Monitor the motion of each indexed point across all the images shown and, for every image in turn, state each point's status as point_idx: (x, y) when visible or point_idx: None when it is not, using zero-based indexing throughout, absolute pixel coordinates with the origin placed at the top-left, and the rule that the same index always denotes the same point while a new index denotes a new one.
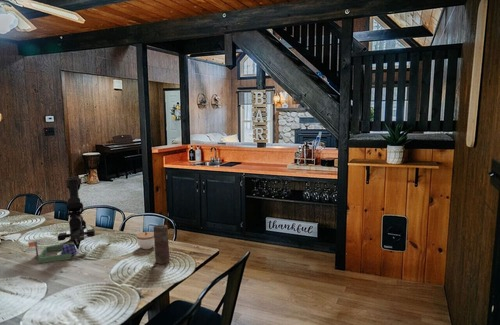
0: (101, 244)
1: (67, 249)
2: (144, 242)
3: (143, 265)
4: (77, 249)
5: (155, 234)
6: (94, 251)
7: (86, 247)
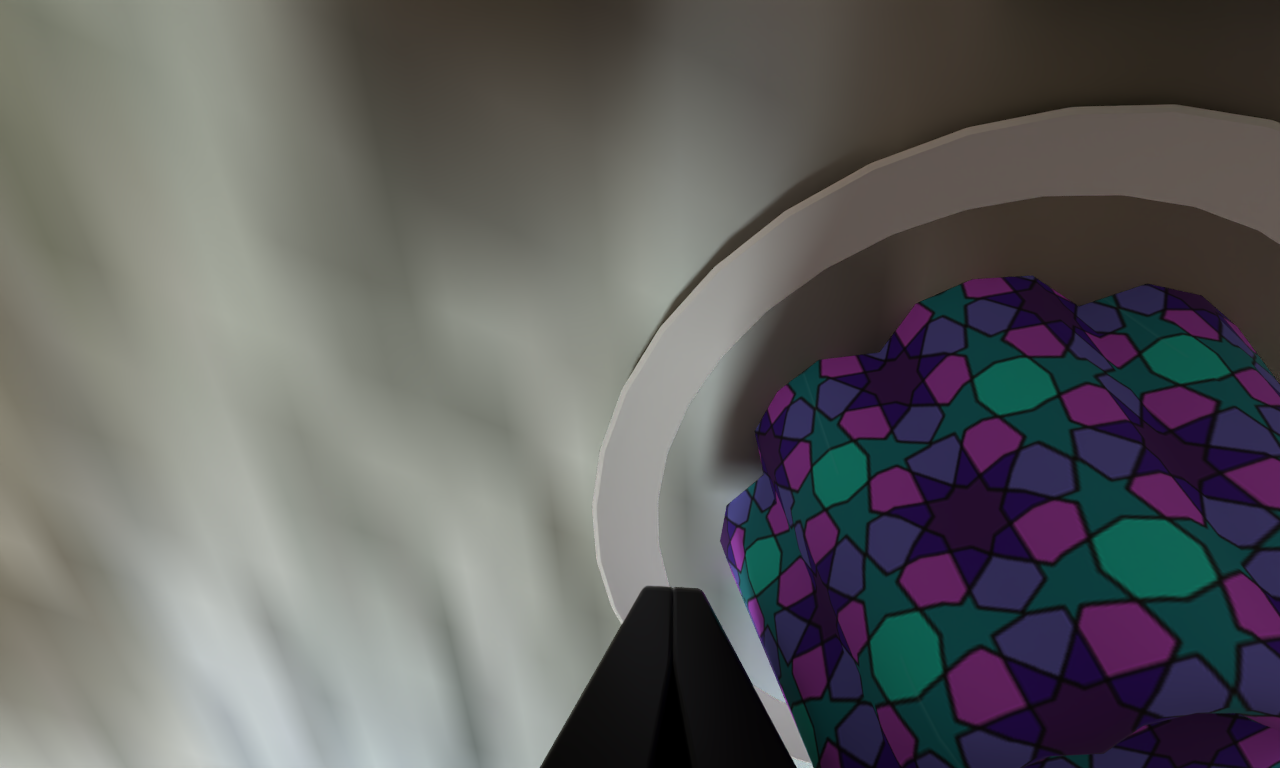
0: (75, 750)
1: (1244, 533)
2: None
3: None
4: None
5: None
6: (55, 316)
7: (452, 726)
